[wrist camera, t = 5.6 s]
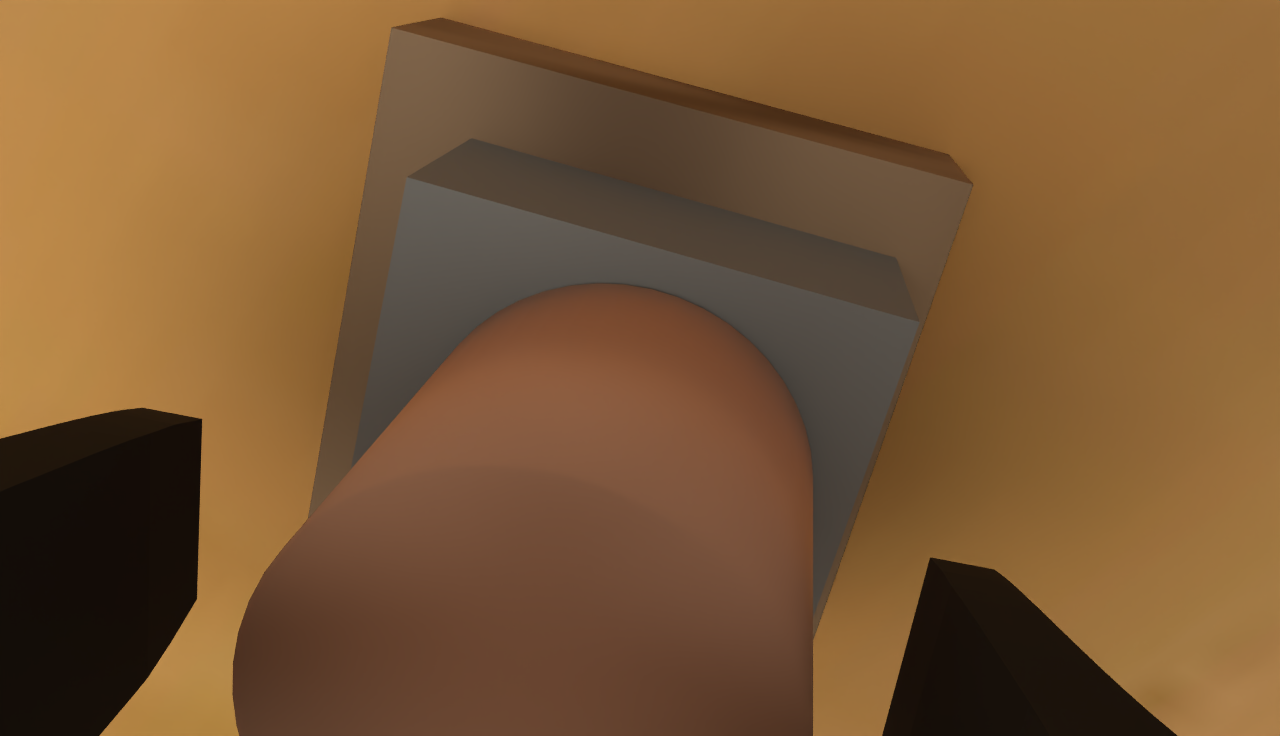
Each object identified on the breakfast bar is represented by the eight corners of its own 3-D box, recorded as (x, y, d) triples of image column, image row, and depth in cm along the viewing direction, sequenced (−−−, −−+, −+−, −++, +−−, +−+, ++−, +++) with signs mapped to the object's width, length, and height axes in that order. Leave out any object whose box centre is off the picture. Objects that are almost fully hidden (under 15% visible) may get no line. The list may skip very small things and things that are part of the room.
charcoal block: (896, 257, 16) (919, 322, 13) (768, 625, 18) (766, 748, 16) (471, 137, 16) (407, 176, 14) (392, 516, 18) (322, 619, 16)
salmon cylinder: (838, 307, 13) (851, 509, 9) (788, 673, 15) (777, 1006, 10) (419, 262, 14) (216, 429, 9) (415, 621, 15) (244, 917, 11)
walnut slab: (944, 149, 19) (973, 184, 16) (796, 583, 21) (798, 680, 19) (449, 15, 19) (391, 27, 16) (366, 464, 22) (304, 541, 19)
